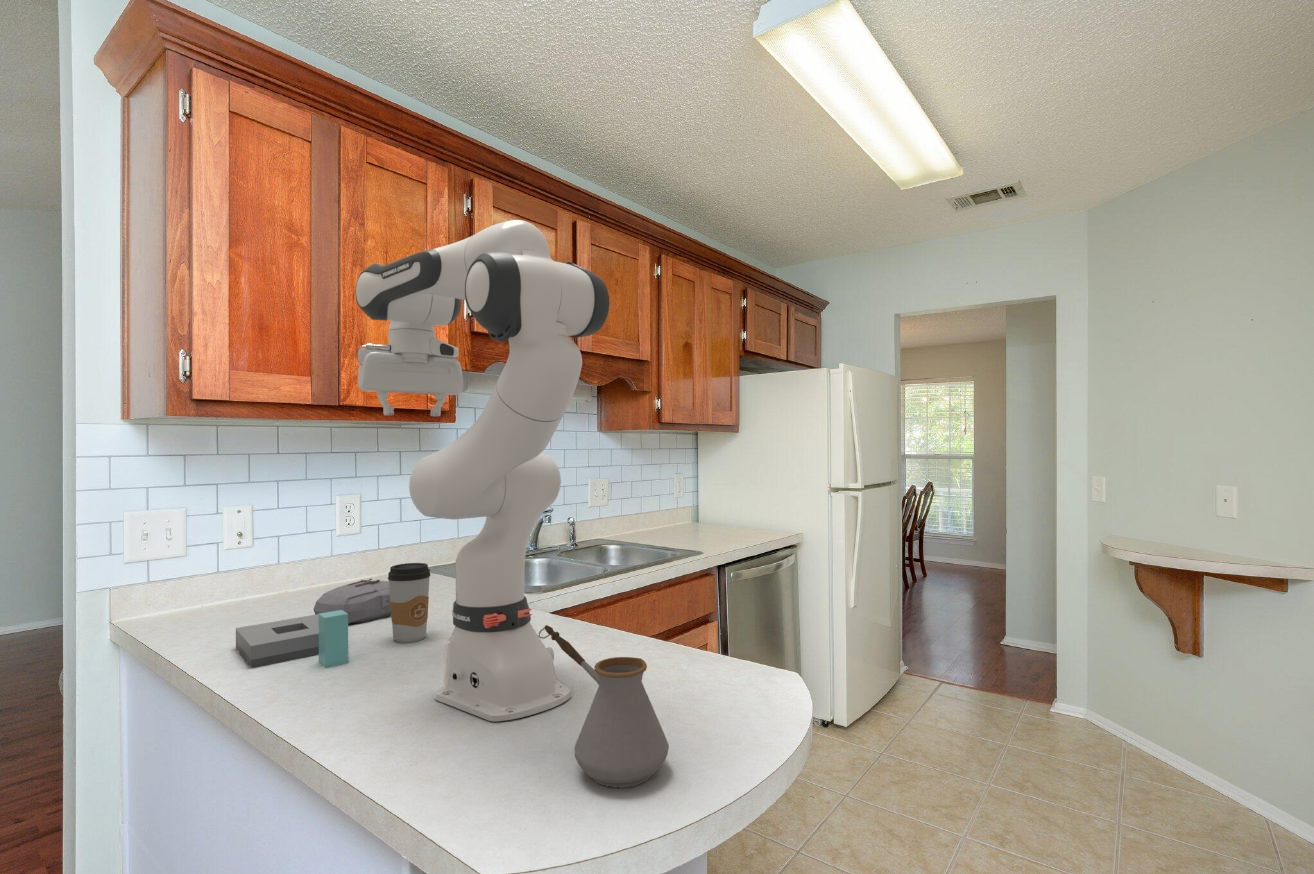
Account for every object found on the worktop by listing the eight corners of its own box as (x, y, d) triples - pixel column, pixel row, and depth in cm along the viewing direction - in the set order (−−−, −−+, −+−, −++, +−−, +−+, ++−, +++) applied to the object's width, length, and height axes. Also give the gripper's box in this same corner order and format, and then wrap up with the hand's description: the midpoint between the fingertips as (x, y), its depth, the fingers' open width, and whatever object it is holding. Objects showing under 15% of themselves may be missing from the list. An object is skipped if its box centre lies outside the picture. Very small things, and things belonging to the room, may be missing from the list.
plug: (348, 662, 119) (347, 613, 120) (324, 667, 117) (324, 617, 117) (341, 657, 122) (341, 609, 123) (318, 662, 120) (318, 613, 120)
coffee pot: (688, 769, 78) (687, 646, 79) (619, 809, 70) (617, 670, 70) (577, 719, 93) (576, 615, 93) (509, 747, 85) (508, 633, 85)
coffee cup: (402, 647, 128) (402, 571, 128) (380, 639, 133) (379, 567, 133) (439, 636, 135) (438, 565, 135) (416, 630, 140) (415, 561, 140)
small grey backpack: (378, 604, 165) (299, 623, 148) (378, 571, 165) (299, 586, 148) (416, 611, 156) (337, 632, 140) (416, 577, 157) (337, 594, 140)
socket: (345, 648, 128) (345, 628, 128) (251, 668, 117) (250, 646, 117) (323, 631, 140) (322, 613, 140) (235, 648, 129) (235, 628, 129)
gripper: (362, 340, 121) (363, 413, 121) (466, 349, 134) (466, 415, 134) (352, 344, 126) (353, 415, 125) (453, 353, 139) (454, 417, 139)
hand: (412, 415), depth 130 cm, fingers open, 8 cm apart
